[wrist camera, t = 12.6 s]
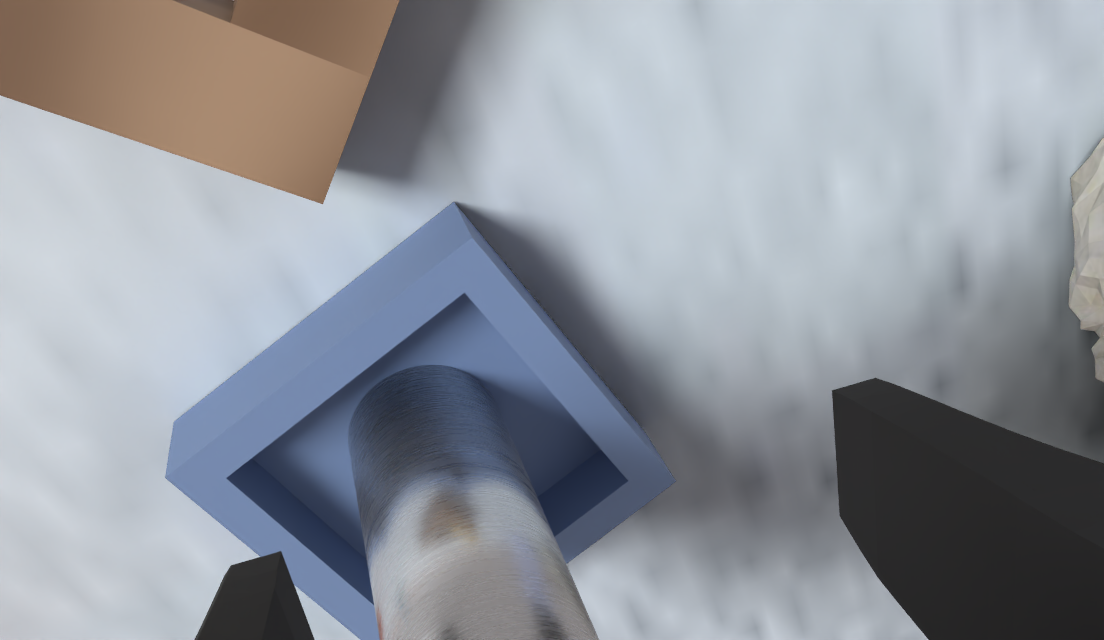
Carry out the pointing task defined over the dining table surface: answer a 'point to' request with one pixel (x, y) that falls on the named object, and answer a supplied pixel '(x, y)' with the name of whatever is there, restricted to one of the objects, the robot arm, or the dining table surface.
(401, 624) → the gray metallic cylinder
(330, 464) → the tray
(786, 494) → the dining table surface
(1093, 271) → the mineral
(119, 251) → the dining table surface
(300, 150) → the socket
